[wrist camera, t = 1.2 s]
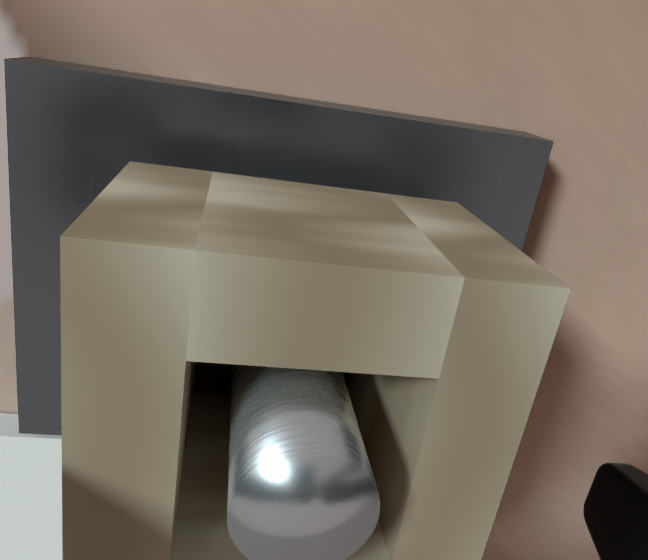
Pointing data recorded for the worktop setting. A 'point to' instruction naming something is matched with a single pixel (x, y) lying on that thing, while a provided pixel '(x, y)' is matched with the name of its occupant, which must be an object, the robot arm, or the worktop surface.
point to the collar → (290, 354)
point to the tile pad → (29, 493)
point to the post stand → (256, 161)
